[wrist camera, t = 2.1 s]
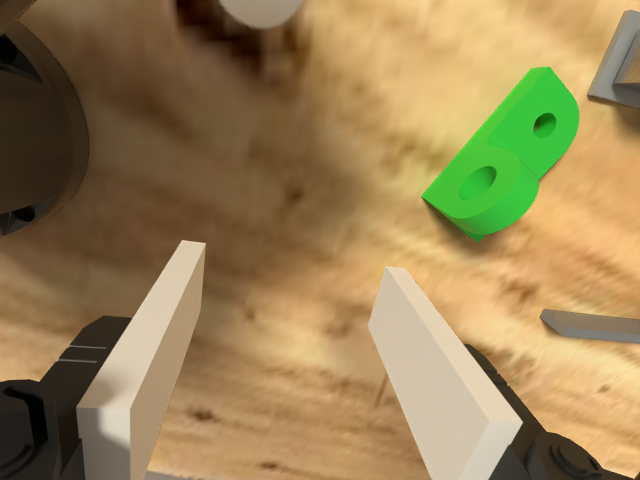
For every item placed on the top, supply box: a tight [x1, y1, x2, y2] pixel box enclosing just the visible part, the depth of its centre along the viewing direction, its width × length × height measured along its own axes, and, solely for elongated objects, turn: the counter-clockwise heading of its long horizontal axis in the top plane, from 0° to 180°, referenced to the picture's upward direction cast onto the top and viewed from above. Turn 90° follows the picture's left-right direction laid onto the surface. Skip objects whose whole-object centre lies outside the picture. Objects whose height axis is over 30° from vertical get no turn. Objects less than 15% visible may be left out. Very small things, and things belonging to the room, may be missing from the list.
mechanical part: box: [421, 67, 579, 243], centre depth 24 cm, size 12×6×8 cm, turn 142°
